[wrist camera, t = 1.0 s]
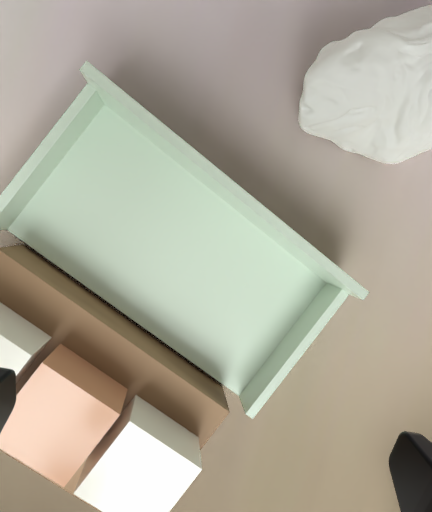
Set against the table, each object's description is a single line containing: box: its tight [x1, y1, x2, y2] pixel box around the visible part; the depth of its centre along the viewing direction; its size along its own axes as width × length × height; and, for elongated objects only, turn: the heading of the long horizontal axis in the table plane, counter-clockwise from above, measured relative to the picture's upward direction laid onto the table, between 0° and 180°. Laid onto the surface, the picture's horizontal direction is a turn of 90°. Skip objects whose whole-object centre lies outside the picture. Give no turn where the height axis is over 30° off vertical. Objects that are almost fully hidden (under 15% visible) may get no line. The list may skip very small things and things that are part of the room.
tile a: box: [73, 395, 202, 512], centre depth 17 cm, size 4×4×2 cm
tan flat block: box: [0, 245, 229, 512], centre depth 19 cm, size 8×14×3 cm, turn 52°
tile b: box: [0, 344, 128, 488], centre depth 17 cm, size 4×4×2 cm
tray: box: [0, 61, 369, 419], centre depth 19 cm, size 9×17×4 cm, turn 52°
